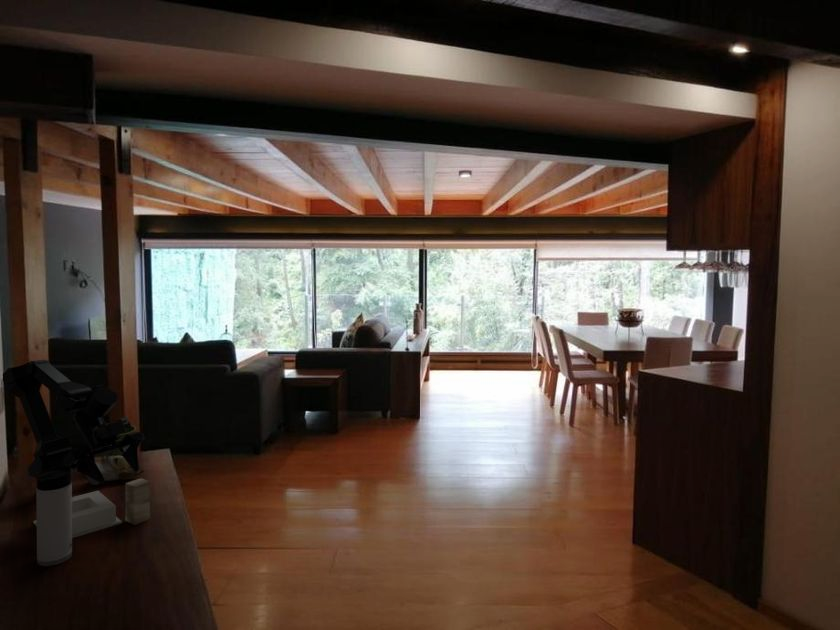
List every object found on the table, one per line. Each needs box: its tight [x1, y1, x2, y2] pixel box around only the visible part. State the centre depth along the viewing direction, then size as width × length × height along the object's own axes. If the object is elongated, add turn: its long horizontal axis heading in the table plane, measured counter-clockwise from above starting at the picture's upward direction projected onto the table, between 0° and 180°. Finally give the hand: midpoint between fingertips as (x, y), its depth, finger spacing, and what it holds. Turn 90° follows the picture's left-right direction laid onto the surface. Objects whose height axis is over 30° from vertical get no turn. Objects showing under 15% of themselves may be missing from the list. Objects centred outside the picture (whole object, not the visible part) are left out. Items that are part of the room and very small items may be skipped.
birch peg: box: [124, 477, 151, 526], centre depth 130 cm, size 4×4×10 cm
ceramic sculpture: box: [85, 453, 145, 486], centre depth 155 cm, size 11×9×15 cm
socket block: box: [33, 490, 123, 539], centre depth 127 cm, size 15×15×5 cm
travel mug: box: [35, 465, 73, 567], centre depth 111 cm, size 6×7×20 cm
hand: (121, 476), depth 130 cm, fingers open, 9 cm apart
